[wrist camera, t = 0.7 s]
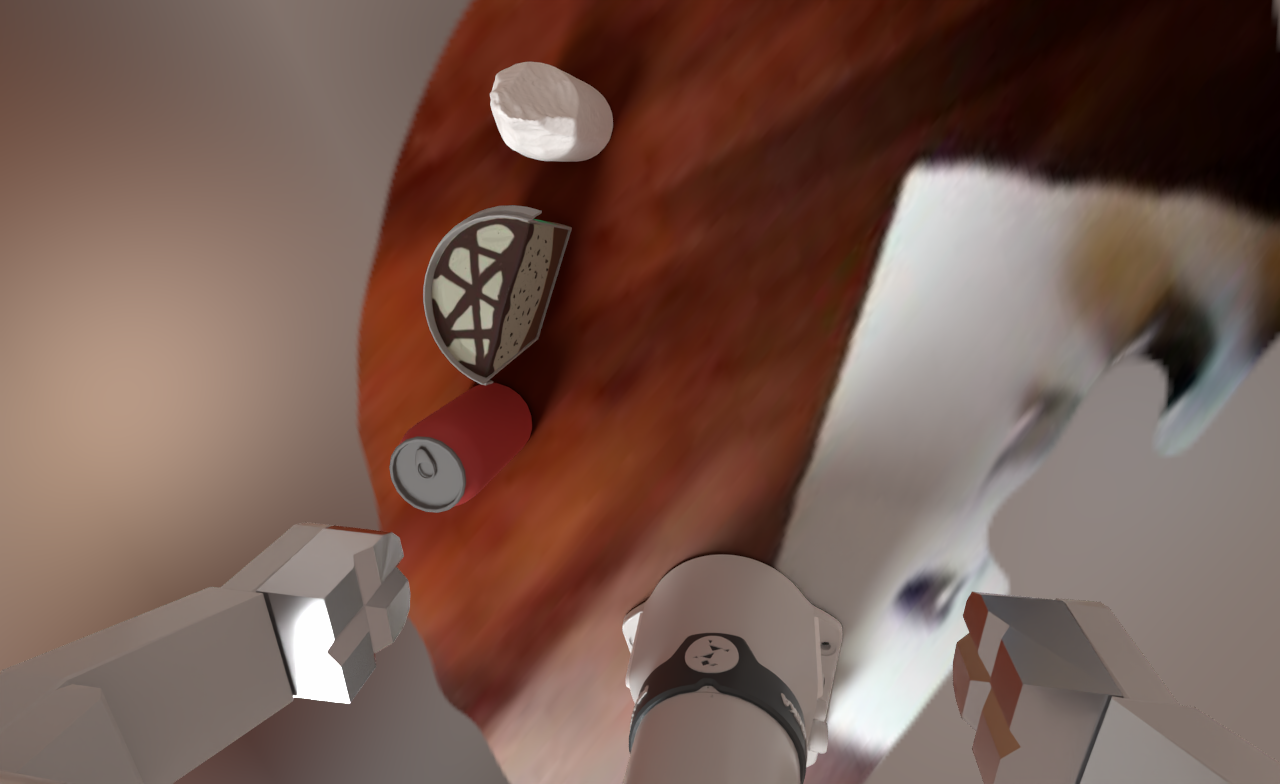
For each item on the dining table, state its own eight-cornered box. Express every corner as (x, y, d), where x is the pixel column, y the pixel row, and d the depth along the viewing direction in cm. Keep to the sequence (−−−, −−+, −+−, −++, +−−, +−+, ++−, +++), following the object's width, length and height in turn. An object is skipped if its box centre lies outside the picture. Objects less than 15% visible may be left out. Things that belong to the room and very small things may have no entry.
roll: (576, 69, 34) (542, 173, 36) (625, 99, 45) (597, 177, 47) (474, 26, 34) (446, 132, 36) (548, 67, 46) (523, 145, 48)
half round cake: (503, 178, 49) (438, 175, 39) (578, 208, 48) (530, 211, 39) (464, 328, 53) (397, 357, 43) (532, 356, 52) (480, 392, 43)
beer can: (525, 375, 53) (457, 425, 42) (542, 449, 55) (482, 516, 43) (453, 385, 55) (370, 435, 43) (472, 457, 56) (397, 523, 45)
